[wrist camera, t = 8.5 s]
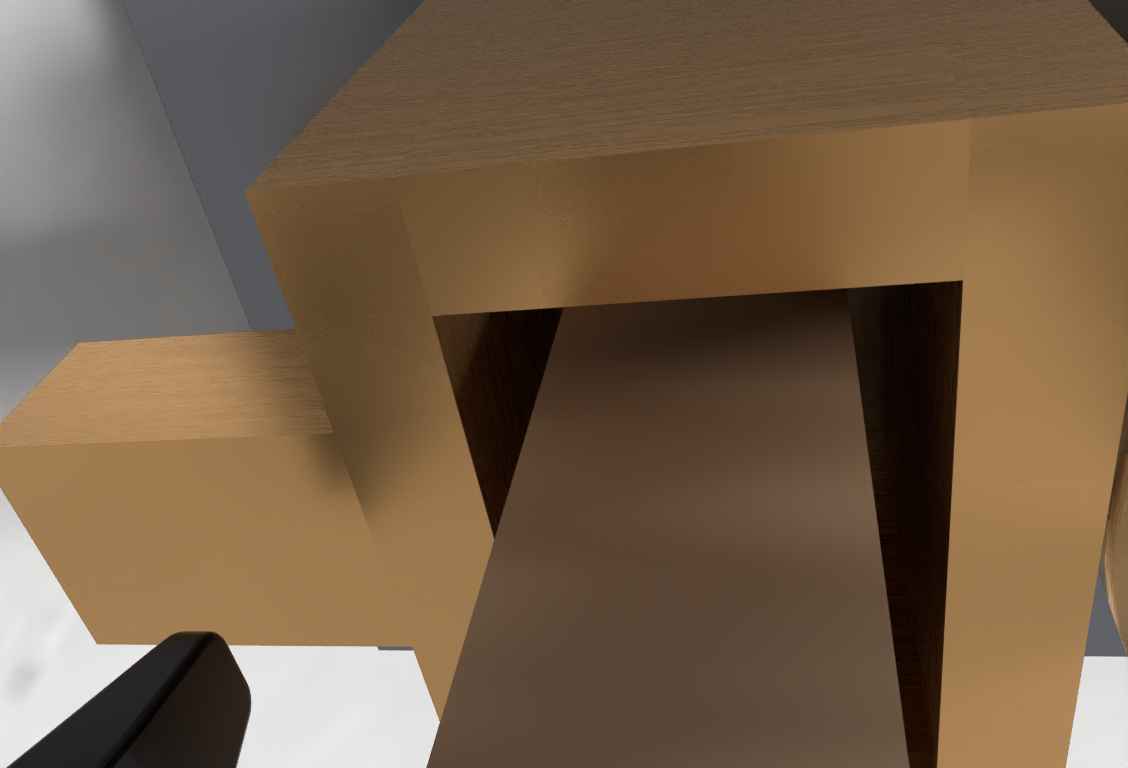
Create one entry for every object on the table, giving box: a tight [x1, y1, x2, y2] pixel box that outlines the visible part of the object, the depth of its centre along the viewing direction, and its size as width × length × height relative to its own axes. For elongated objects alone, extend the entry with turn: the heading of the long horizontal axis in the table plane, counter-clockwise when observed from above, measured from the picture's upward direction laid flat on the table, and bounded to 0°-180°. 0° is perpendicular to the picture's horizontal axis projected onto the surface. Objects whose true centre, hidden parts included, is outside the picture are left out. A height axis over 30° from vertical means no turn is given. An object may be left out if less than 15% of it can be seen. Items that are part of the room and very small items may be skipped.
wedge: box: [427, 288, 909, 768], centre depth 10 cm, size 2×4×10 cm, turn 10°
